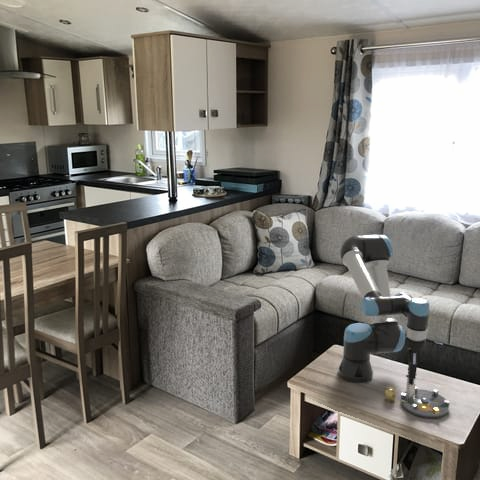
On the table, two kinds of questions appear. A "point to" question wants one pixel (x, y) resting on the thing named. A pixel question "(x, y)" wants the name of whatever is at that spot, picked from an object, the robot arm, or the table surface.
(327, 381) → the table surface
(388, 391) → the roller
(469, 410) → the table surface
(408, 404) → the dark grey round base
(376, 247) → the robot arm
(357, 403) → the table surface
